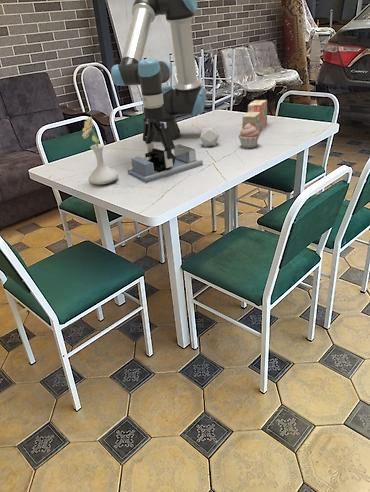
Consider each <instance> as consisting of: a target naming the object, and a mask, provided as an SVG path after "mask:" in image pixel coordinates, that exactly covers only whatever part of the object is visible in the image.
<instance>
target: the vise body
mask: <svg viewBox="0 0 370 492" xmlns="http://www.w3.org/2000/svg"><path fill="white" fill-rule="evenodd" d="M130 160H131V165H132V167H130V168H128V169H127V172H128V175H129V176H131V177H133V178H135V179H137V180H140V181H141V182H143V183H145V184H148V183H151V182H154V181H157V180H160V179H163V178H166V177H169V176H173V175H175V174H178V173H183V172H186V171H188V170H192V169H195V168H198V167H201V166H203V165H204V163H203V162H204V161H203V159H199V160H198V159H196V161H195V162H192V163H187V162H184V161H182V160H179V159H176V158H175V163H174V165H173V166H172V167H171V169H169V170H166V171H163V172H158V171H155V170H154V167H153V163H152V162H149V161H147V160H148V159H146V158H145V159H144V158H142V157H140V156H136V157H132V158H130Z"/></svg>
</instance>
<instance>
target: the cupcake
mask: <svg viewBox="0 0 370 492" xmlns="http://www.w3.org/2000/svg"><path fill="white" fill-rule="evenodd" d="M260 136H261V134H260V133H258V130H257V129H256V128H255V127H254V126H252V125H250V123H248V124H247V125H245V126H244V128H243V129H241V130H240V131H239V135H238V138H239V142H240V145H241V147H242V149H253V148H256V147H257V146H258V141H259V138H260Z"/></svg>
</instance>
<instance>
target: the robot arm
mask: <svg viewBox="0 0 370 492" xmlns="http://www.w3.org/2000/svg"><path fill="white" fill-rule="evenodd" d="M197 9H198V0H134V1H133V4H132V9H131V15H132V17H131V18H132V19H131V22H130V25H129V26H130V27H129V29H128V30H129V31H128V34H127V38H126V41H125V46H124V48H123V53H122V56H121V58H120V59H121V60H120V63H119V64H118V63H117V64H114V65H113V66H112V67H111V69H110V70H111V71H110V74H111V75H110V76H111V80H112V82H113V84H114V85H115V86H121V87H122V86H123V87H127V86H129V87H130V86H140V91H141V101H142V106H143V132H142V141H143V142H145V144H146V150H147V151H146V152H147V153H148V152H151V151H152V149H153V148H155V145H154V143H155V142H158V143H159V142H161V144H162V147H163V148H164V150H163V151H164V155H165V164H166V168H169V167H172V166H173V162H172V153H173V152H172V150H174V149H175V143H174V141H175V140H177V139H180V137H181V136H182V135H181V130H180V127H179V125H178V122H177V120H176V116H196V115H201V114H203V113H204V109H205V108H206V107H205V105H206V99H207V95H206V93H207V92H206V89H205V88H204V87H202V84H201V82H200V81H199V80H198V79H197V77H198V76H197V68H196V59H195V48H194V40H193V29H192V20H193V18H194V17H195V14H194V13H196V12H197ZM163 15H165V21H166V22H168V24H169V25H170V31H171V38H172V45H173V46H172V47H173V55H174V56H173V57H174V62H175V70H176V71H175V72H176V77H177V83H176V84H175V87H173V86H172V85H164V86H163V84H165V83H167V82H168V81H169V80H170V79H171V77H172V75H173V72H172V71H173V69H172V66H171V65H170V64H169V63H168V62H167V61H165V60H158V59H156V58H152V59H150V58H148V59H143V56H144V52H145V49H146V44H147V41H148V37H149V32H150V30H151V29H150V27H151V24H152V23H153V22H154V21H155V18H156V16H163ZM147 158H148V160H150V159H151V158H152V157H151V156H150V157H147Z"/></svg>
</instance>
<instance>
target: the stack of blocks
mask: <svg viewBox="0 0 370 492" xmlns="http://www.w3.org/2000/svg"><path fill="white" fill-rule="evenodd" d="M248 123H250V125H252V126H254V127H255V128H256V129H257V130H258V134H260V133H261V131H262V130H264V129H265V127H266V126H268V100H267V99H254V100H253V101H251V102H249V104H247V112H246V113H245V114H244V115H242V124H241V125H242V129H243V128H244V126H245V125H247V124H248ZM242 129H241V130H242Z"/></svg>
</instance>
